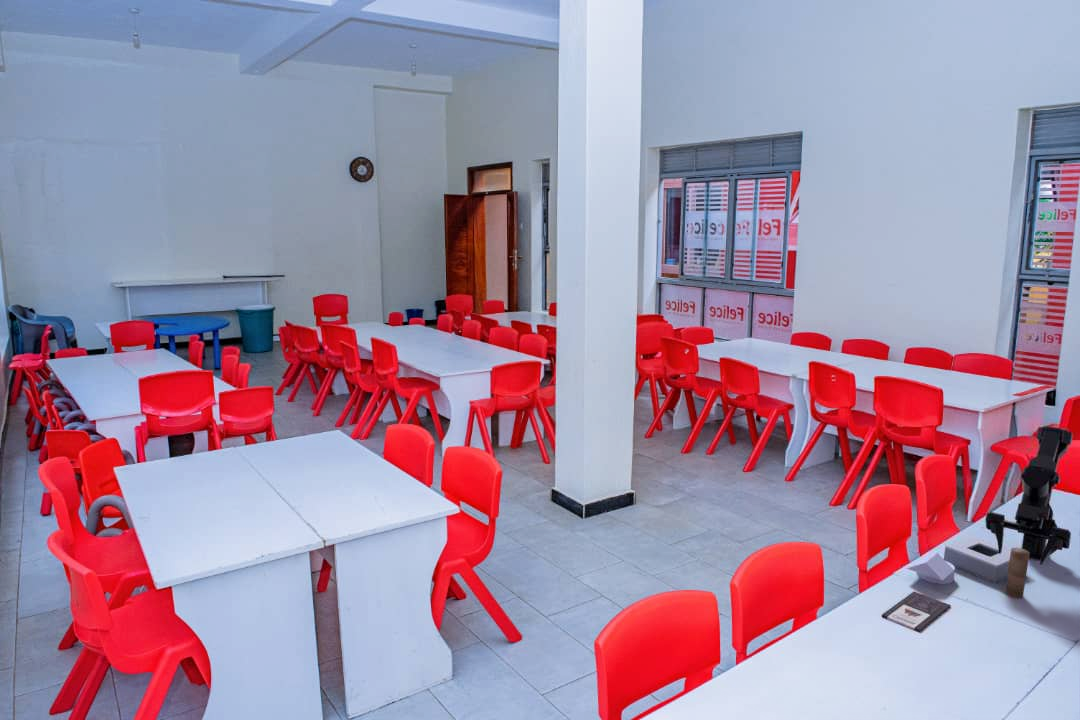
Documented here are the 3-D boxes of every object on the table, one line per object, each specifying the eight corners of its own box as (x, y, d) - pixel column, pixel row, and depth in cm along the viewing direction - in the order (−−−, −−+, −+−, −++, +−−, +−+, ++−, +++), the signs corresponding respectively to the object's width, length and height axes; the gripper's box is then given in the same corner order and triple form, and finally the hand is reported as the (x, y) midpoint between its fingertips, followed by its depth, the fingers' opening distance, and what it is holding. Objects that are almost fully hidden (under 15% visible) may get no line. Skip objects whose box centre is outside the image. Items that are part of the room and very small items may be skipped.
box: (971, 551, 223) (973, 535, 222) (1021, 571, 211) (1024, 554, 210) (943, 562, 215) (945, 545, 214) (994, 583, 204) (996, 565, 203)
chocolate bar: (950, 605, 191) (920, 630, 179) (950, 608, 191) (919, 633, 179) (913, 591, 197) (881, 614, 186) (913, 594, 198) (881, 618, 186)
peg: (1009, 589, 200) (1016, 546, 198) (1025, 596, 197) (1032, 552, 195) (1001, 593, 198) (1008, 549, 196) (1017, 599, 195) (1024, 555, 193)
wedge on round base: (941, 592, 198) (958, 576, 207) (944, 568, 197) (961, 553, 206) (905, 580, 205) (923, 565, 213) (908, 556, 203) (926, 542, 212)
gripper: (991, 482, 204) (977, 533, 198) (1076, 500, 193) (1063, 555, 186) (993, 503, 212) (979, 553, 205) (1075, 521, 200) (1063, 575, 194)
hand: (1020, 558), depth 197 cm, fingers open, 9 cm apart
